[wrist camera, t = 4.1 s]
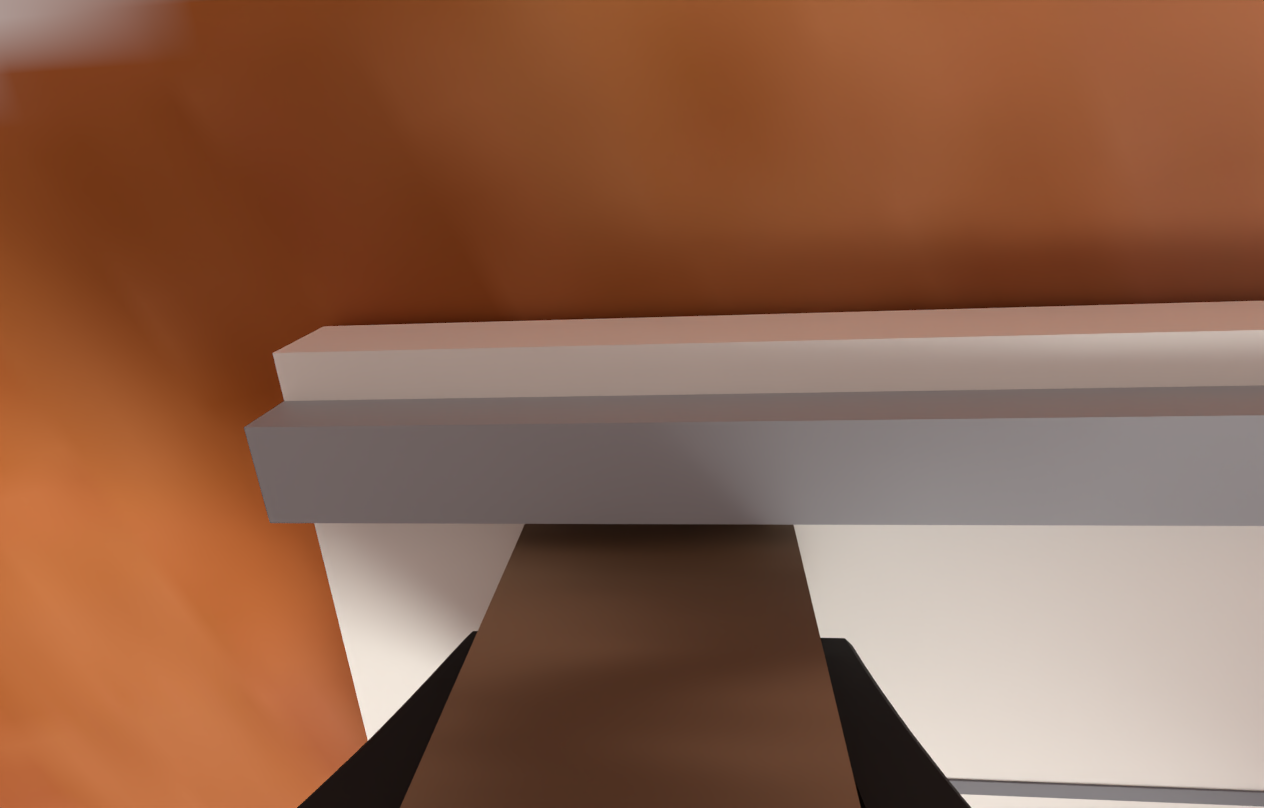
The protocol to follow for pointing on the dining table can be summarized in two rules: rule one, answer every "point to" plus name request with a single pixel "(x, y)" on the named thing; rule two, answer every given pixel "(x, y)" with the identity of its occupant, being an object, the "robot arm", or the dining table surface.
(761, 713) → the block
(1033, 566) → the board
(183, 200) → the dining table surface
